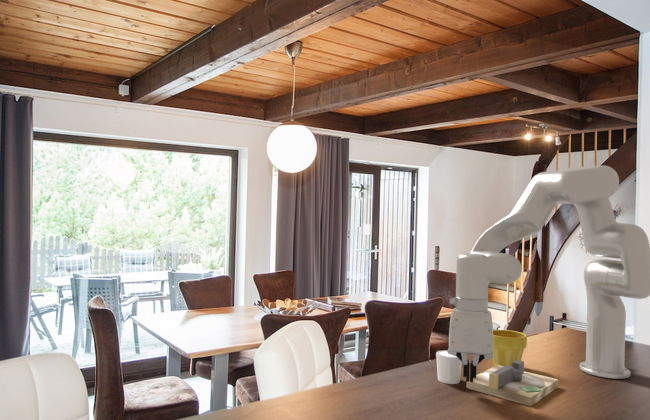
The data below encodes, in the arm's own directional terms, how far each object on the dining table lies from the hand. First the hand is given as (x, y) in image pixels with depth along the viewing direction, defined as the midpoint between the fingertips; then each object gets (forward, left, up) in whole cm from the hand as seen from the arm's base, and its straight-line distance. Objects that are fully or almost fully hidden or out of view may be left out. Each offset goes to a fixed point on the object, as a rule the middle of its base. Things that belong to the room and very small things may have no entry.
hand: (469, 380), depth 122 cm
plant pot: (-27, -3, -4) cm, 28 cm away
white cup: (-5, -9, -4) cm, 11 cm away
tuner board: (-12, +5, -3) cm, 14 cm away
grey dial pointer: (-9, +5, -1) cm, 10 cm away
